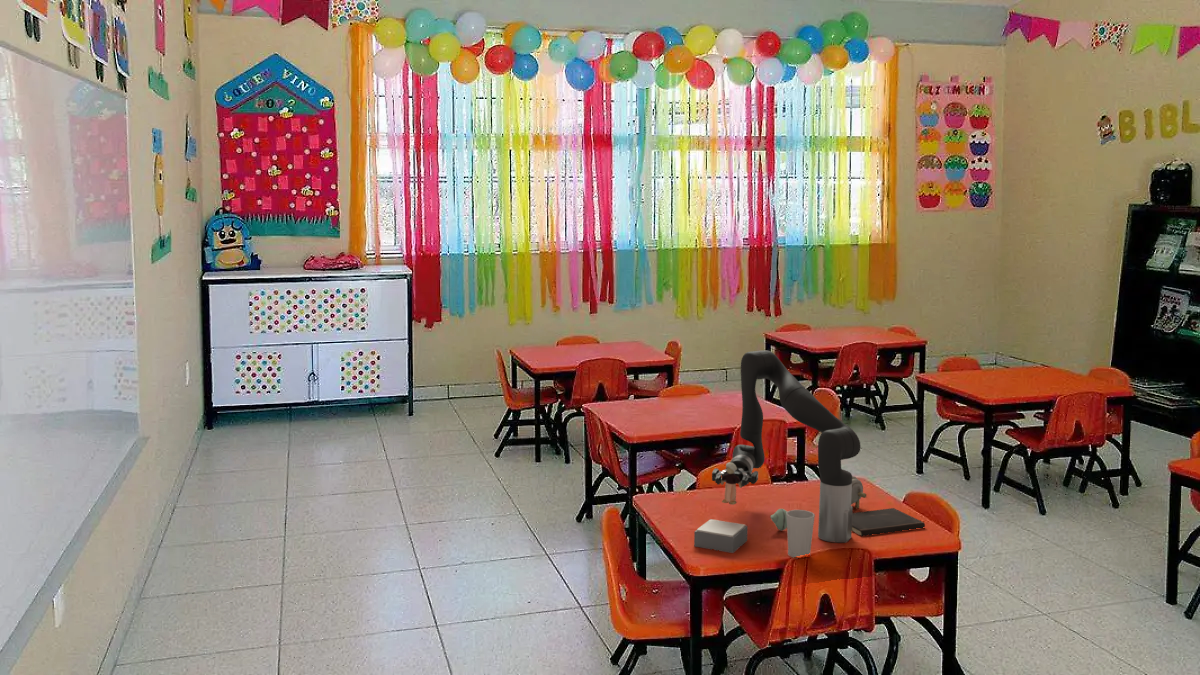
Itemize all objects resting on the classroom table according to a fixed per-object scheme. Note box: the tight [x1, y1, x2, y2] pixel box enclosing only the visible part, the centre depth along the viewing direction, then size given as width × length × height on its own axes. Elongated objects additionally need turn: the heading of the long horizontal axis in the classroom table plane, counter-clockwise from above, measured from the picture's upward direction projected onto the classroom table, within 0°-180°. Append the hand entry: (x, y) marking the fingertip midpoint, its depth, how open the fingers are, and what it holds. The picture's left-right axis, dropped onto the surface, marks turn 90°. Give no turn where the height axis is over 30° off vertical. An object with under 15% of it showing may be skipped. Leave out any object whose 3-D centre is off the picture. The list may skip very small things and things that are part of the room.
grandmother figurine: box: [720, 461, 743, 506], centre depth 318 cm, size 8×4×13 cm, turn 61°
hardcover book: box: [852, 507, 926, 537], centre depth 326 cm, size 16×23×2 cm
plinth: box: [693, 518, 748, 554], centre depth 307 cm, size 12×12×5 cm
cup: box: [786, 509, 816, 558], centre depth 298 cm, size 8×8×12 cm
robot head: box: [770, 508, 788, 531], centre depth 319 cm, size 8×4×7 cm, turn 104°
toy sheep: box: [851, 475, 867, 509], centre depth 343 cm, size 11×17×11 cm, turn 39°
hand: (730, 482), depth 316 cm, fingers closed on grandmother figurine, 7 cm apart
